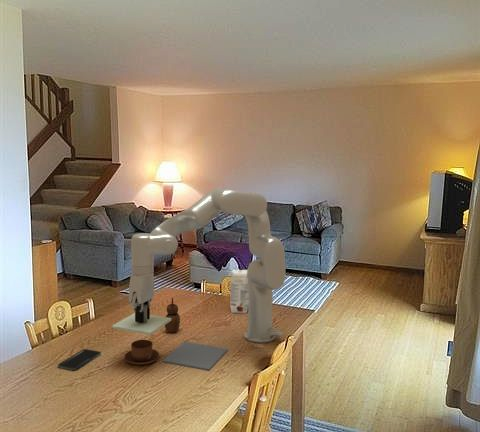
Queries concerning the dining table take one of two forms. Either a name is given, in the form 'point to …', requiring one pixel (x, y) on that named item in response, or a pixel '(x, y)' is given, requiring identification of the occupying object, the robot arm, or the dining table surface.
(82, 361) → the phone
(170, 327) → the wooden figurine
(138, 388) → the dining table surface
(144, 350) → the cup and saucer
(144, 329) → the cover board
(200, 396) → the dining table surface
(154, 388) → the dining table surface
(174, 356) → the rubber mat
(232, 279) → the juice carton
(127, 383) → the dining table surface
